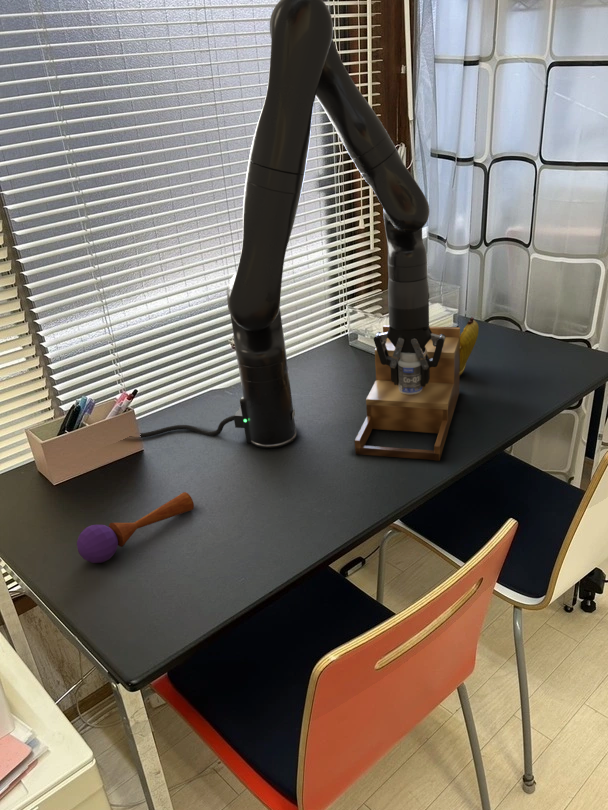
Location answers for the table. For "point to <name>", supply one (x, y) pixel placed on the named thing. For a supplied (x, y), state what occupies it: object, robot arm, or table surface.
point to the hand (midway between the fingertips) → (410, 383)
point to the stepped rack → (414, 401)
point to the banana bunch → (467, 342)
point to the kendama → (125, 530)
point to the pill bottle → (409, 374)
